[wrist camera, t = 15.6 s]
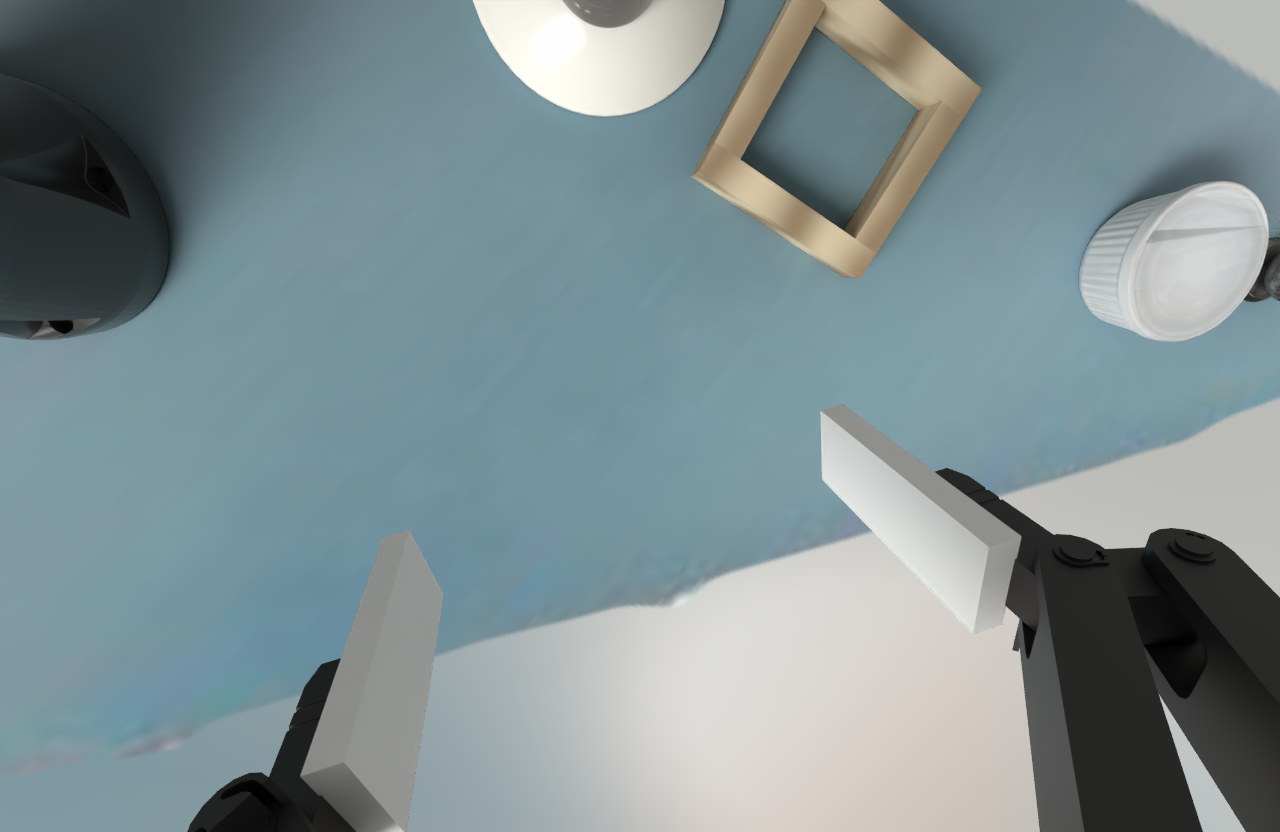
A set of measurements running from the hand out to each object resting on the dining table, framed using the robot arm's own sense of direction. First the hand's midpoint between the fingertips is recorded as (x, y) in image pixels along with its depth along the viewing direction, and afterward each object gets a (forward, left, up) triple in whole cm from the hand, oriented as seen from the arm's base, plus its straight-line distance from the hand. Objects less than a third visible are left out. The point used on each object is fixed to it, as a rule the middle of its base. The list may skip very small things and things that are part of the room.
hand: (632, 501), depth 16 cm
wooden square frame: (+7, +21, -24) cm, 33 cm away
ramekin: (+35, +27, -25) cm, 51 cm away
